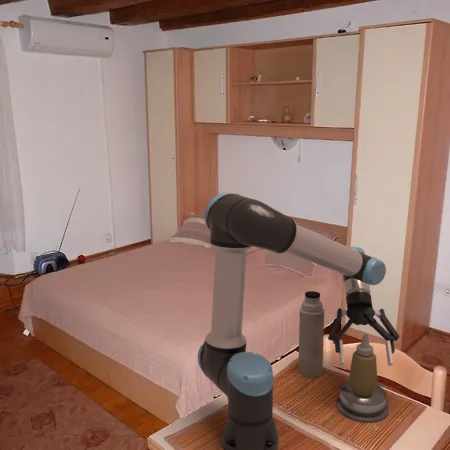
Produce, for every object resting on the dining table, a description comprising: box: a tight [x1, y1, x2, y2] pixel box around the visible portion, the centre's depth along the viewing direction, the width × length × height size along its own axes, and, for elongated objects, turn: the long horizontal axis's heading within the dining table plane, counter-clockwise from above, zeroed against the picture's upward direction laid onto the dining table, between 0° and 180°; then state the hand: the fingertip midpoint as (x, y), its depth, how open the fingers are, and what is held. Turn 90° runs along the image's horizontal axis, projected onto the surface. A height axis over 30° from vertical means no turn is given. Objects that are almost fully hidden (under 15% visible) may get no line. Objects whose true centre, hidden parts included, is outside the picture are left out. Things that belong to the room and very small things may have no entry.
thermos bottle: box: [297, 290, 325, 378], centre depth 162 cm, size 8×8×28 cm
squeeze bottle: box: [348, 334, 378, 397], centre depth 142 cm, size 8×8×18 cm
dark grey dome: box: [335, 380, 390, 424], centre depth 145 cm, size 15×15×5 cm
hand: (366, 364), depth 140 cm, fingers open, 13 cm apart
